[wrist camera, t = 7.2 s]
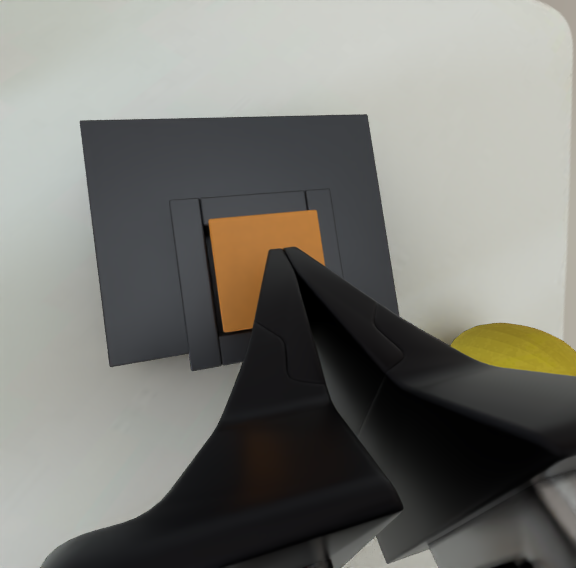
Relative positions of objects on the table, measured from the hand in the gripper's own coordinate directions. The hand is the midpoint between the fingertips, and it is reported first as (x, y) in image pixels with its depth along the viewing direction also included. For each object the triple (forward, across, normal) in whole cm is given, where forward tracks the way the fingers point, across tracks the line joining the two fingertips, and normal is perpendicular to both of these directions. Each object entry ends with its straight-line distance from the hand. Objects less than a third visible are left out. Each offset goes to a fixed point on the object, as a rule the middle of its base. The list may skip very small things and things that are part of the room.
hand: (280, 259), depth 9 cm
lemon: (+2, -13, +12) cm, 18 cm away
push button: (+9, 0, +5) cm, 10 cm away
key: (+3, 0, +3) cm, 4 cm away
